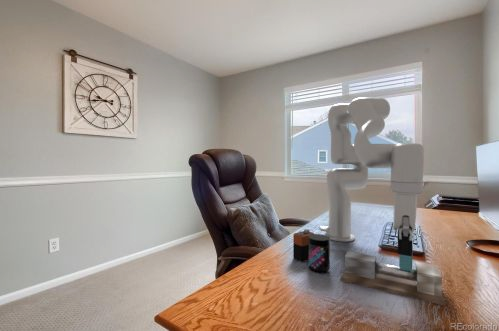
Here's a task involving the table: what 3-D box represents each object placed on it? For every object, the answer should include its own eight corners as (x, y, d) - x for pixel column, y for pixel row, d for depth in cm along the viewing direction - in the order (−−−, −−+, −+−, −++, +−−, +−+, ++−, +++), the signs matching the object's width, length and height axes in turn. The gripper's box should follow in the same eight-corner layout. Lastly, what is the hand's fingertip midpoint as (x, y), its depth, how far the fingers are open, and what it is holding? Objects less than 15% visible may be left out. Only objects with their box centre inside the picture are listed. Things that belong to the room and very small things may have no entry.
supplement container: (304, 265, 81) (304, 234, 81) (323, 264, 82) (323, 233, 82) (313, 275, 74) (313, 241, 74) (333, 273, 76) (334, 239, 75)
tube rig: (340, 280, 71) (340, 259, 71) (347, 265, 81) (348, 247, 81) (445, 305, 59) (445, 280, 59) (438, 284, 69) (438, 263, 69)
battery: (314, 258, 87) (315, 230, 87) (302, 263, 83) (302, 233, 83) (305, 254, 91) (305, 227, 91) (292, 259, 87) (292, 231, 87)
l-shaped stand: (365, 272, 72) (365, 238, 72) (366, 268, 74) (366, 235, 74) (430, 286, 64) (431, 248, 64) (429, 281, 66) (429, 245, 66)
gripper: (391, 184, 77) (389, 237, 78) (389, 190, 62) (387, 256, 63) (420, 185, 73) (418, 242, 74) (425, 193, 58) (423, 263, 59)
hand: (404, 248), depth 68 cm, fingers open, 9 cm apart
